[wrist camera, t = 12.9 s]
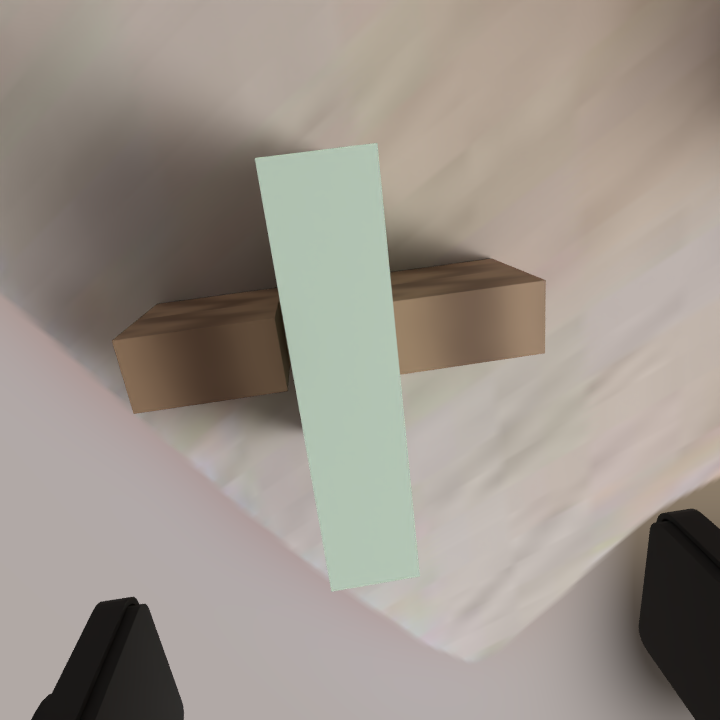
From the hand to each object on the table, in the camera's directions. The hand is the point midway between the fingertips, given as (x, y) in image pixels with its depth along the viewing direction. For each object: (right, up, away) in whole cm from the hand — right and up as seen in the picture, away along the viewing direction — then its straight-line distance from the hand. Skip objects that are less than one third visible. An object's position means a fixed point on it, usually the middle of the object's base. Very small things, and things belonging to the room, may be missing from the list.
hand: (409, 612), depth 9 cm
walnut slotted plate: (-3, +8, +24) cm, 26 cm away
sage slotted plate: (-3, +8, +24) cm, 26 cm away
